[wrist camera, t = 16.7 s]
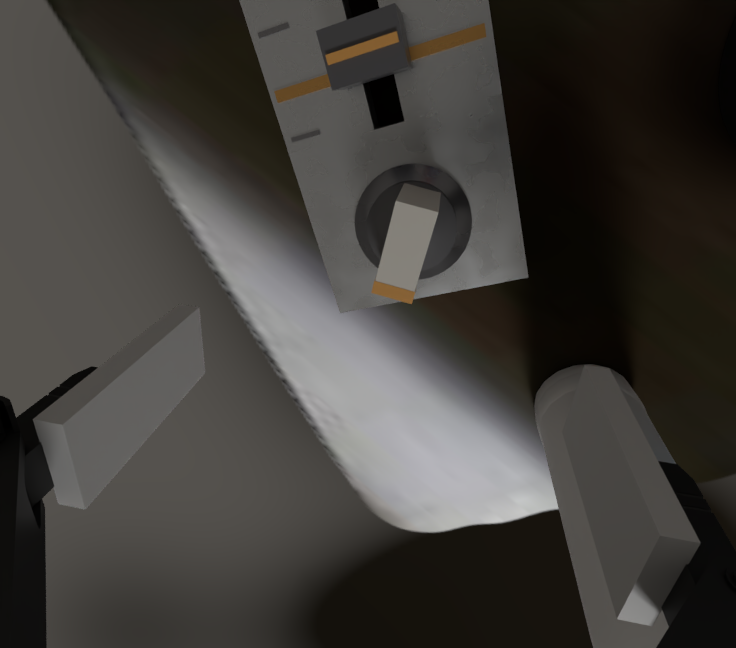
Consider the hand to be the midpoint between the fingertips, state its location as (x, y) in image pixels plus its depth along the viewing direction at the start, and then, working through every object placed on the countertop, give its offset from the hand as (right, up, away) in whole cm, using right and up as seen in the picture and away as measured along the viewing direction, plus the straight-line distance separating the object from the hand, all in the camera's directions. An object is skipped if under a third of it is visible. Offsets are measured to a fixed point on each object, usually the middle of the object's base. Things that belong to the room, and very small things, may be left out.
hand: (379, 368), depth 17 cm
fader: (0, +19, +15) cm, 24 cm away
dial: (+3, +8, +16) cm, 18 cm away
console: (+1, +17, +15) cm, 23 cm away
